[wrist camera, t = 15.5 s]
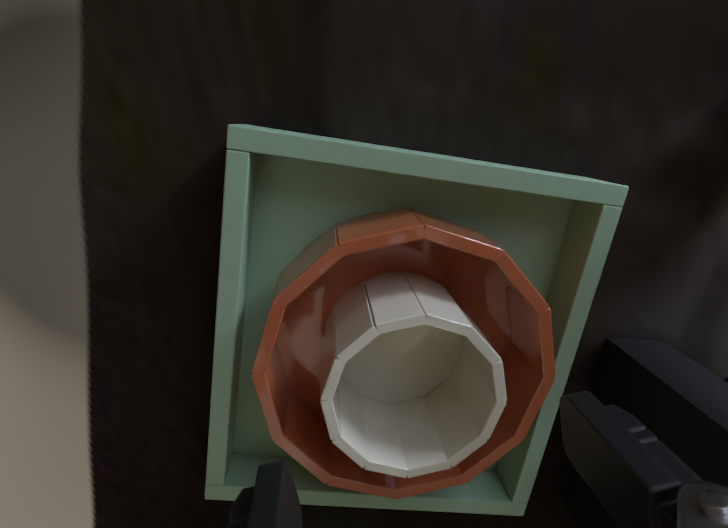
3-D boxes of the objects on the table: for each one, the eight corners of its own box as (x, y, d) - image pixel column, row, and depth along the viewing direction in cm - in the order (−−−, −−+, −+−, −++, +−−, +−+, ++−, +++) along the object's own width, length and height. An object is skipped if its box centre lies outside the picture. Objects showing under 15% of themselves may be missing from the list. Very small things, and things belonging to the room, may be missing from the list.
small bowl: (340, 415, 20) (344, 493, 16) (307, 289, 18) (303, 340, 14) (474, 385, 20) (514, 455, 16) (456, 257, 18) (495, 298, 14)
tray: (501, 472, 24) (523, 516, 21) (218, 454, 22) (204, 499, 19) (587, 177, 19) (630, 186, 17) (242, 123, 18) (227, 124, 15)
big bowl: (301, 458, 22) (297, 522, 18) (236, 241, 18) (216, 269, 15) (525, 408, 22) (562, 462, 18) (502, 184, 18) (543, 198, 15)
